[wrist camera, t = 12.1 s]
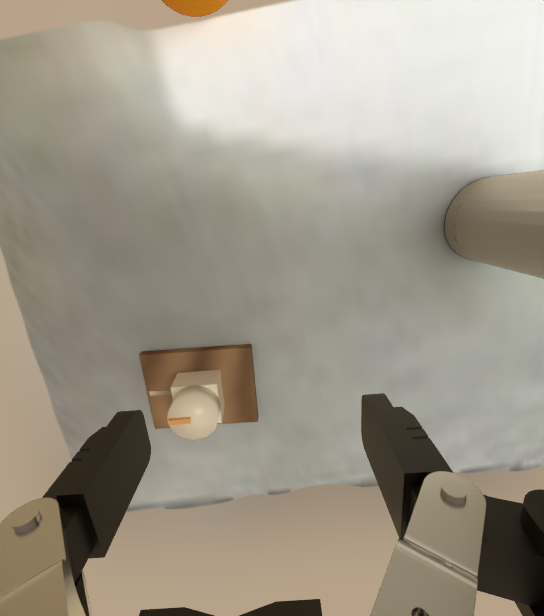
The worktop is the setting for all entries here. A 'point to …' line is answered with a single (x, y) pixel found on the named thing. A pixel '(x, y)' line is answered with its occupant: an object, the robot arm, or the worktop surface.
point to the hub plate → (227, 359)
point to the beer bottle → (195, 6)
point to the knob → (196, 404)
